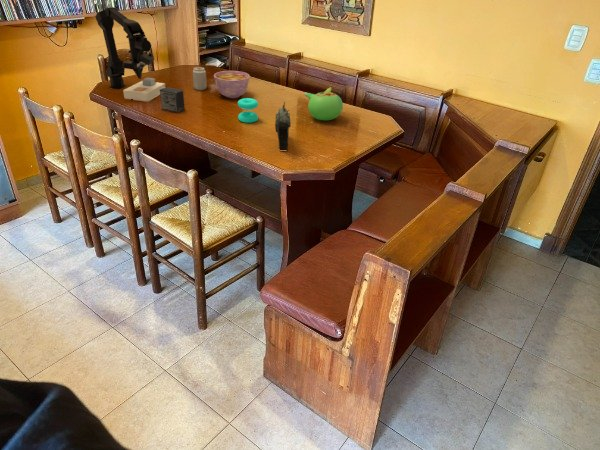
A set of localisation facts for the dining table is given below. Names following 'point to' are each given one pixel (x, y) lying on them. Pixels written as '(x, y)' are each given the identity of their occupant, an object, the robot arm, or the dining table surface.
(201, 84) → the can
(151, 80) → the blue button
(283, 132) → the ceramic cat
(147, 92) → the console
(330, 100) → the green rounded body
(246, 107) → the donuts
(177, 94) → the small box
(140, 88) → the orange button
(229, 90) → the bowl of food
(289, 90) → the dining table surface
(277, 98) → the dining table surface
